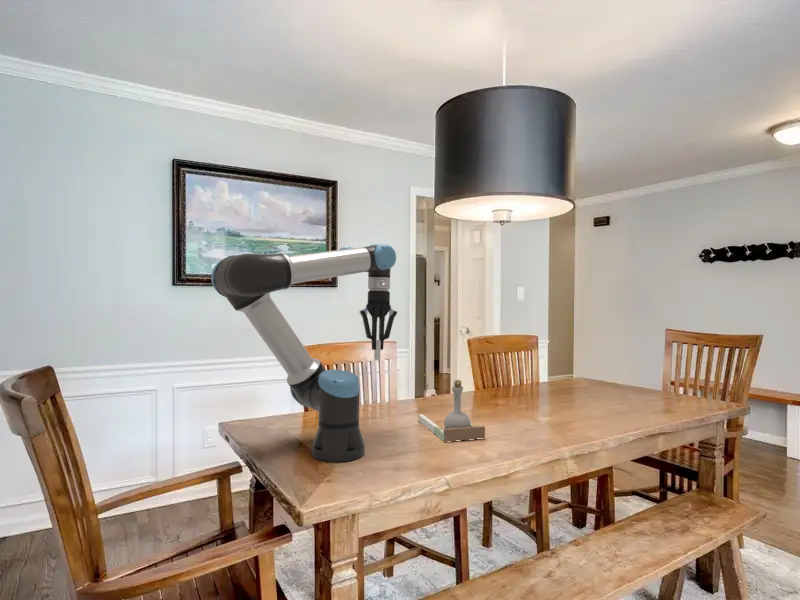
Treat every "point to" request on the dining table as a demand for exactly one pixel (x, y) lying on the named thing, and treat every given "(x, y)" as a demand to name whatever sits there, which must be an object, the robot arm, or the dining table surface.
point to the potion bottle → (457, 410)
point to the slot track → (454, 431)
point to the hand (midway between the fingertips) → (377, 359)
